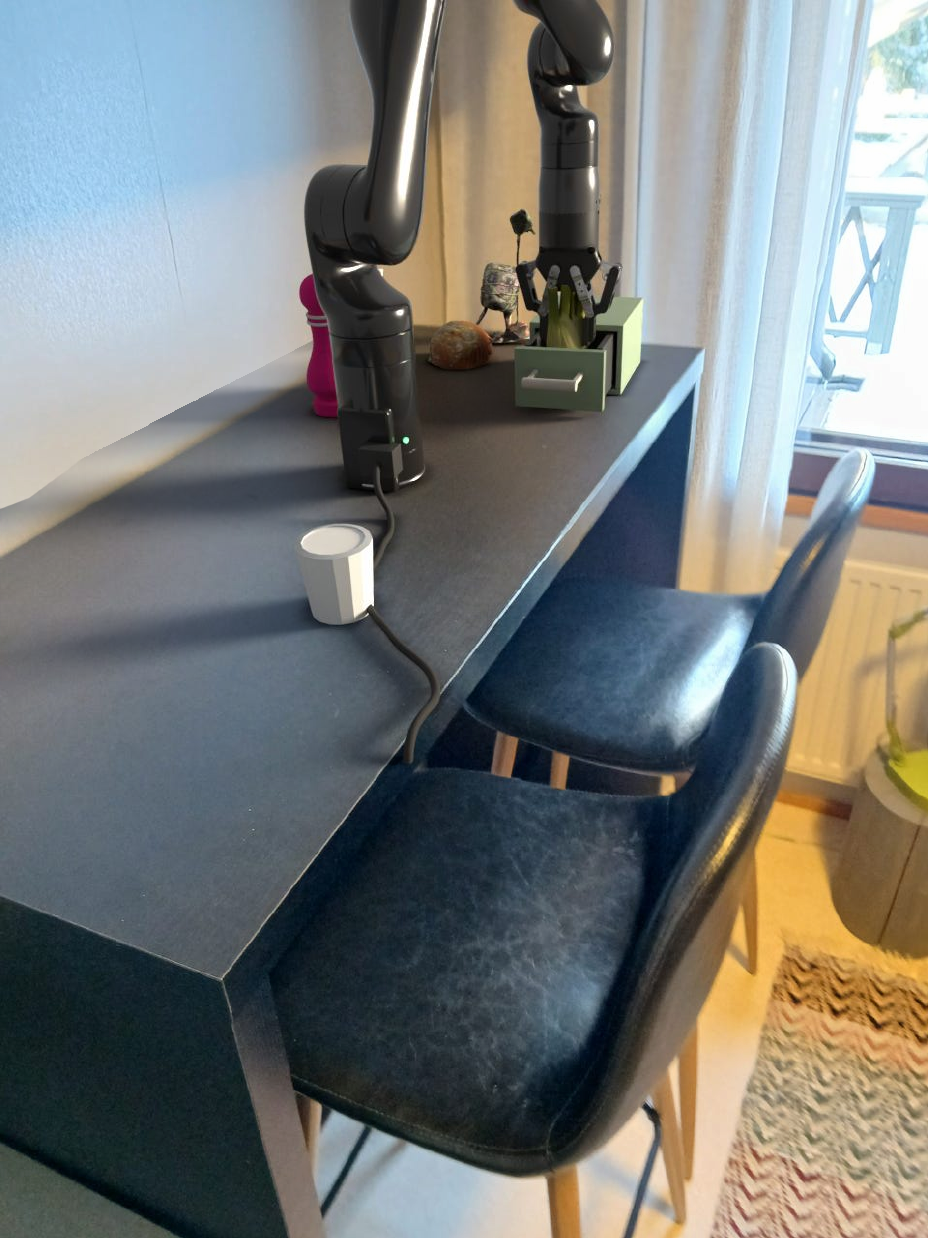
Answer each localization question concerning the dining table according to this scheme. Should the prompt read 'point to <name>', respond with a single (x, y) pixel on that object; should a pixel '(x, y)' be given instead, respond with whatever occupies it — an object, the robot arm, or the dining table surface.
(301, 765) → the dining table surface
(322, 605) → the shot glass
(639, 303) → the green drawer cabinet
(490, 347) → the bread roll
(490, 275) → the grey irregular tall piece
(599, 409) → the green pull-out drawer
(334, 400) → the pepper mill
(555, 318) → the fennel bulb
